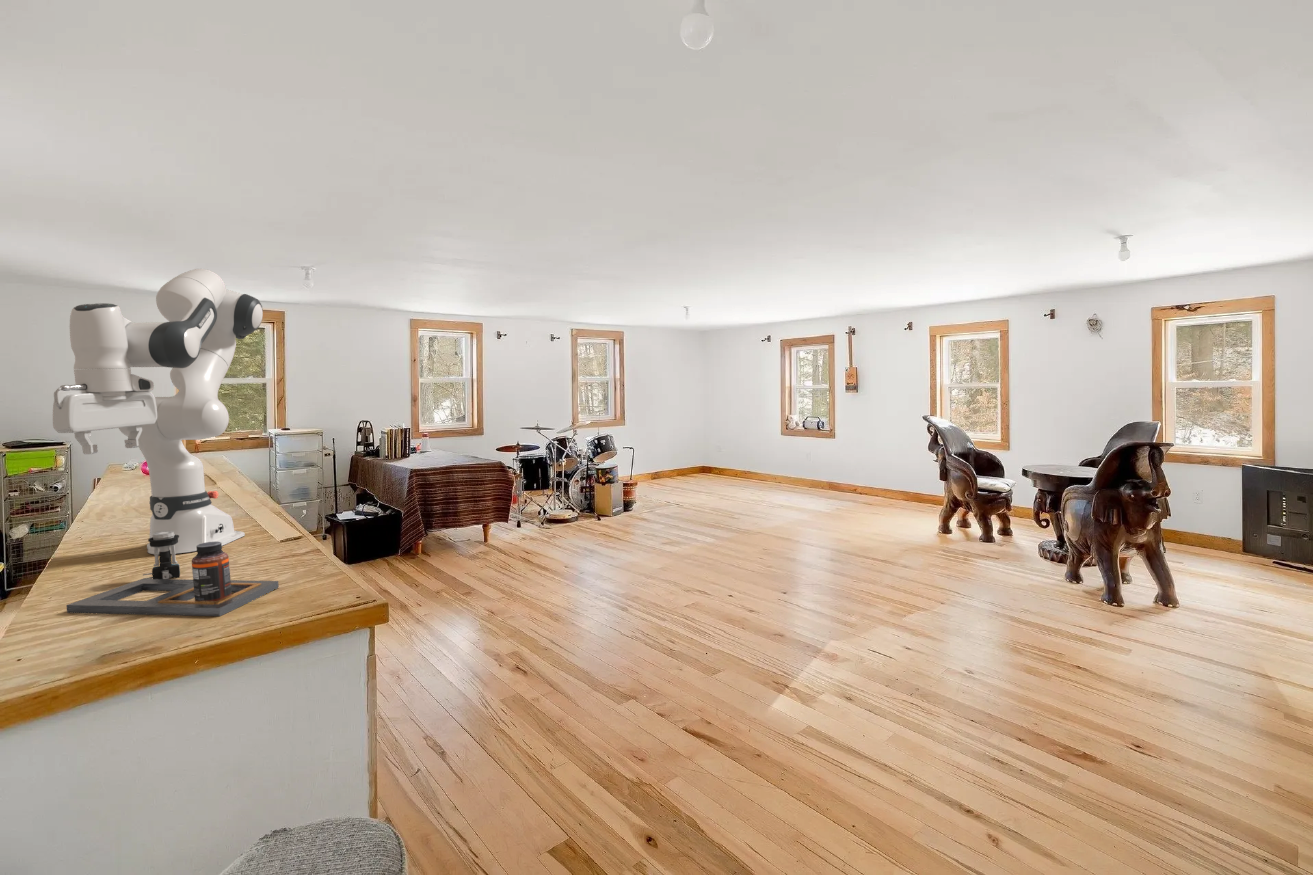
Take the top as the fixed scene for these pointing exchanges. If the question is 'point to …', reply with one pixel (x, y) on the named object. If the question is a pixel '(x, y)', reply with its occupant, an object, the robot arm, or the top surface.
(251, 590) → the grey rectangular frame
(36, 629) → the top surface
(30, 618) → the top surface
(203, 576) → the supplement bottle
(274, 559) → the top surface
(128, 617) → the top surface
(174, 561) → the push button
